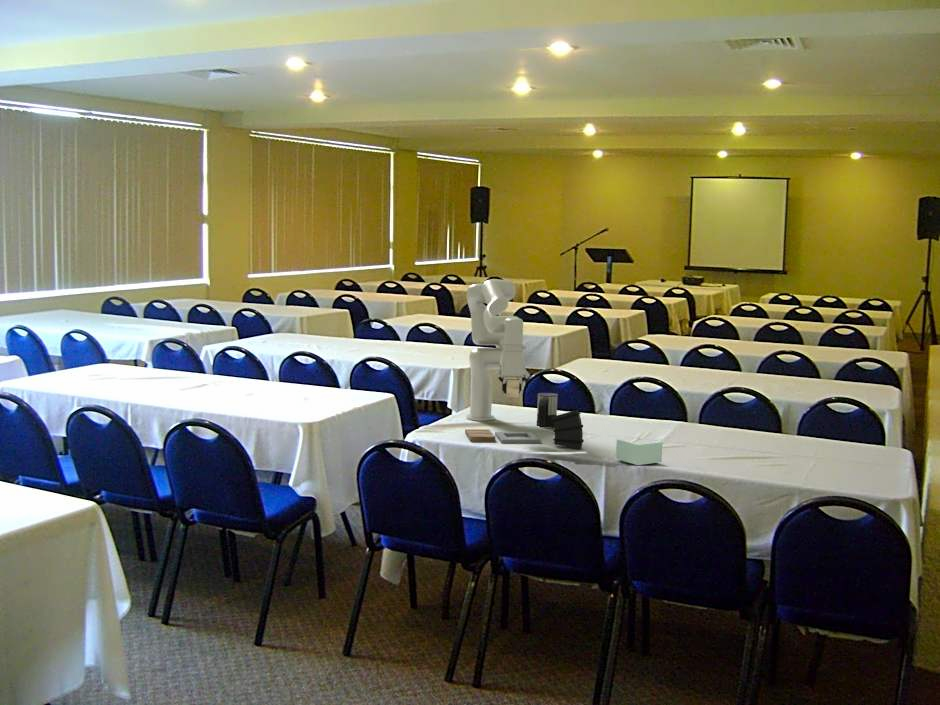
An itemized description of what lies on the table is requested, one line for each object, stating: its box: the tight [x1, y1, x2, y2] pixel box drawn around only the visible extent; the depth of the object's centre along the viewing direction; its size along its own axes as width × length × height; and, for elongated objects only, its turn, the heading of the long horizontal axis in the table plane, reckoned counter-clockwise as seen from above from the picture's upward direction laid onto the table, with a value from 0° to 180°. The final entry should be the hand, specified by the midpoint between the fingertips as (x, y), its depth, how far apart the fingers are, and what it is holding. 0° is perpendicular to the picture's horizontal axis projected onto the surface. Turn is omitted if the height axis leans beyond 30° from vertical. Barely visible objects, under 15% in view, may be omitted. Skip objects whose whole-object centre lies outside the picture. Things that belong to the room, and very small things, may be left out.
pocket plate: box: [494, 431, 542, 444], centre depth 414 cm, size 16×16×2 cm
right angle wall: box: [615, 438, 663, 466], centre depth 382 cm, size 12×12×8 cm
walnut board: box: [464, 428, 496, 443], centre depth 415 cm, size 16×10×2 cm, turn 8°
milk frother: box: [536, 392, 559, 429], centre depth 439 cm, size 14×16×15 cm
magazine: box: [551, 409, 585, 450], centre depth 399 cm, size 4×13×15 cm, turn 65°
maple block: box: [503, 377, 520, 398], centre depth 412 cm, size 5×5×7 cm
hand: (511, 392), depth 412 cm, fingers closed on maple block, 5 cm apart
